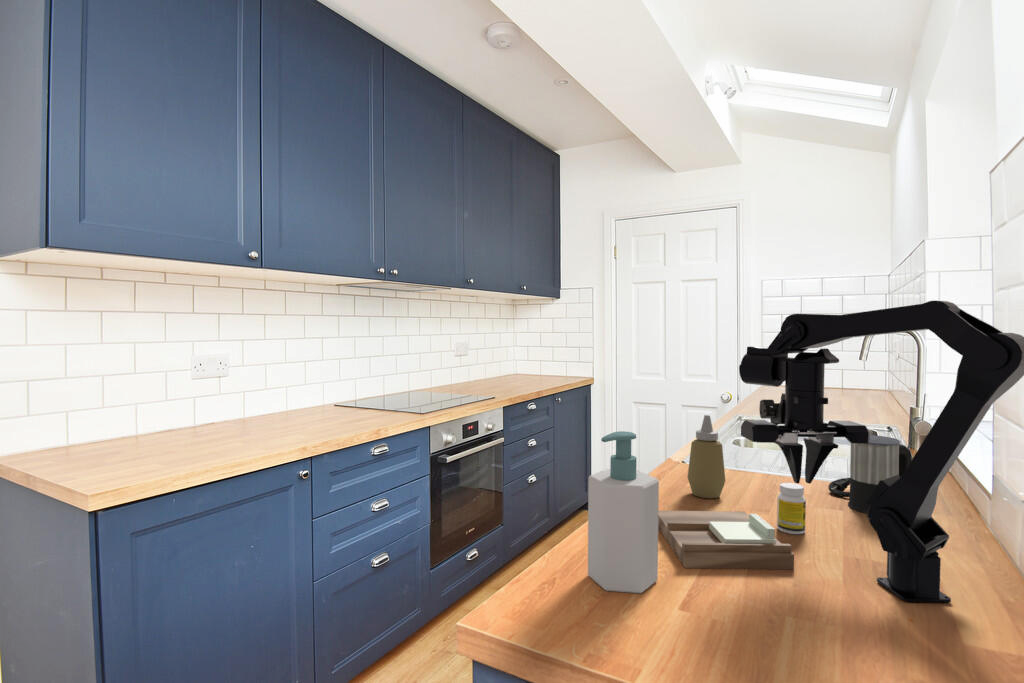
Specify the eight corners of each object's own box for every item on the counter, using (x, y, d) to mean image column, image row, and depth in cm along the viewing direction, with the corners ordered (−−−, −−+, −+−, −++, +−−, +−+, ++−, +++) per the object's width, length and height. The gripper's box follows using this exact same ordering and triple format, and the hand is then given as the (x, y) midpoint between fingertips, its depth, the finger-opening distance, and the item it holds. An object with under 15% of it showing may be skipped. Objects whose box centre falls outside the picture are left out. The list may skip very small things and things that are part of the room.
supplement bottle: (808, 536, 102) (809, 490, 102) (780, 534, 103) (781, 488, 103) (800, 526, 107) (801, 482, 106) (774, 524, 107) (774, 481, 107)
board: (793, 569, 88) (794, 548, 88) (684, 568, 88) (685, 546, 88) (744, 523, 108) (744, 506, 108) (655, 522, 108) (655, 505, 108)
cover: (775, 547, 90) (776, 529, 90) (725, 546, 90) (725, 529, 90) (755, 528, 98) (755, 513, 98) (708, 528, 98) (709, 512, 98)
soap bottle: (579, 569, 88) (580, 429, 87) (629, 560, 91) (631, 425, 90) (613, 599, 78) (615, 442, 77) (668, 588, 81) (670, 437, 81)
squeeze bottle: (733, 498, 124) (734, 417, 123) (703, 502, 121) (705, 419, 120) (707, 488, 131) (709, 411, 131) (679, 492, 128) (680, 413, 128)
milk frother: (888, 520, 111) (890, 445, 110) (807, 499, 123) (808, 432, 123) (916, 506, 119) (918, 436, 118) (837, 488, 132) (839, 425, 131)
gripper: (834, 384, 101) (832, 470, 101) (729, 383, 101) (728, 469, 102) (873, 392, 90) (870, 489, 90) (755, 391, 90) (753, 487, 91)
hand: (802, 482), depth 93 cm, fingers closed
